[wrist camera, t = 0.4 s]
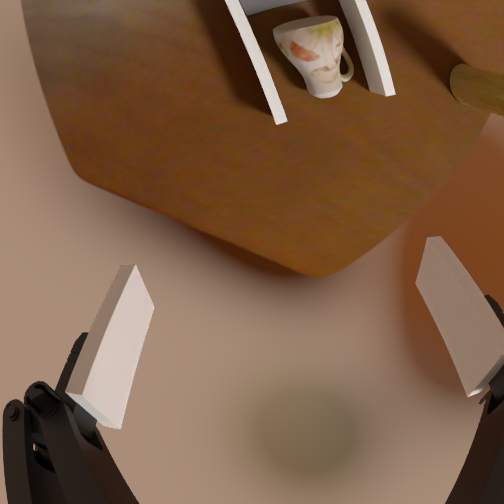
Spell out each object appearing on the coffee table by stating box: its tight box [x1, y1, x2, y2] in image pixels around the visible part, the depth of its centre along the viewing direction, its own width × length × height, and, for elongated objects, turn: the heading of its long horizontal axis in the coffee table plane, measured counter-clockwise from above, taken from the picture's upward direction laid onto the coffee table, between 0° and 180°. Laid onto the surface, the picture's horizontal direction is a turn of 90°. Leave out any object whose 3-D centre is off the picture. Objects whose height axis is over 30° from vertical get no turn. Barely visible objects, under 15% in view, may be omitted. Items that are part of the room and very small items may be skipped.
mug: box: [273, 15, 354, 98], centre depth 26 cm, size 8×10×10 cm
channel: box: [225, 0, 395, 125], centre depth 24 cm, size 18×14×5 cm
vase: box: [450, 64, 504, 117], centre depth 22 cm, size 6×6×14 cm
